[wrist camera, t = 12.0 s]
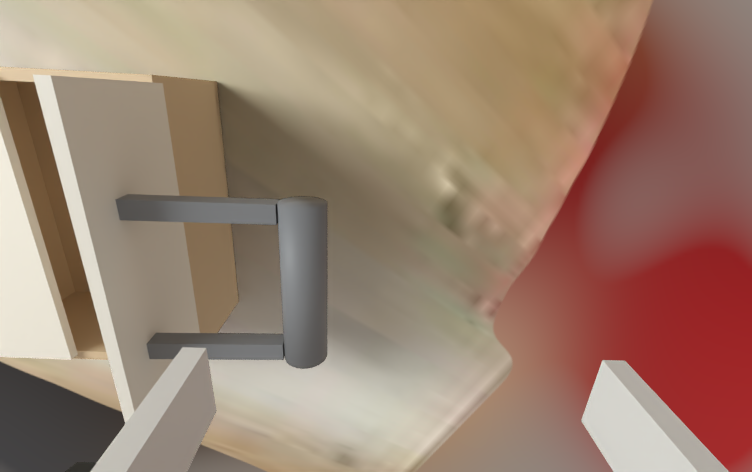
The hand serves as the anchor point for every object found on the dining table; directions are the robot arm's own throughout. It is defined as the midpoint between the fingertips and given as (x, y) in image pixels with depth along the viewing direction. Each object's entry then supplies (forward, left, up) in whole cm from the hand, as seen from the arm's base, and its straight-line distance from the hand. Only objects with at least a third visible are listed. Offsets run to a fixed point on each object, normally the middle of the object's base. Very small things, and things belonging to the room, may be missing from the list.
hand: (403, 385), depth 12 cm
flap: (0, -14, -8) cm, 16 cm away
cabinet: (0, -22, -21) cm, 31 cm away
